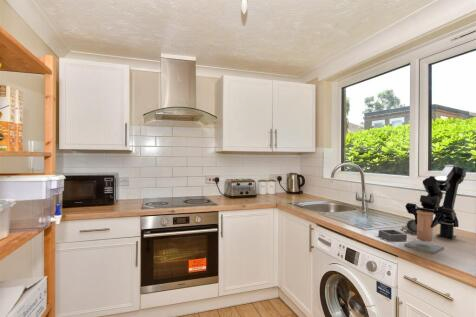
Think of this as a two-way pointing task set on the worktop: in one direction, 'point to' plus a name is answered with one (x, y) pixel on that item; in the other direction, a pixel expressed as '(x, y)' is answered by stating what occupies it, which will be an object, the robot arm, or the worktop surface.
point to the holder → (393, 235)
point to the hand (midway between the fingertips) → (423, 225)
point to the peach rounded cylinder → (424, 225)
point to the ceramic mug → (411, 226)
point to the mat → (424, 246)
